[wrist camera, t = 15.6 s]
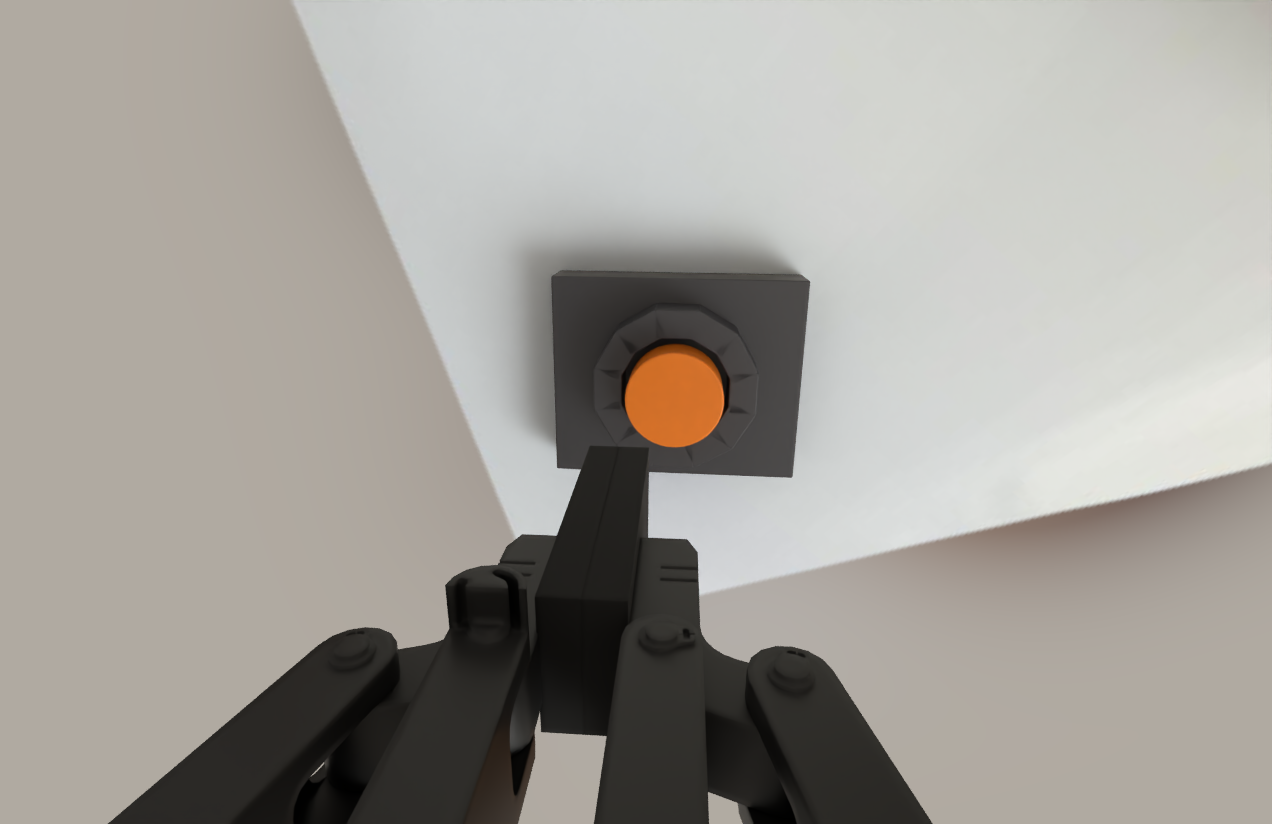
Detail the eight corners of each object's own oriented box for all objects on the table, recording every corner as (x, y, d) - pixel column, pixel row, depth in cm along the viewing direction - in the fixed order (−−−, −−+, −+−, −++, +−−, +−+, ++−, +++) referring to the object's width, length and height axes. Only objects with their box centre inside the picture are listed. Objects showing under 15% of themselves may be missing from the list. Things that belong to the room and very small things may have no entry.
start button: (628, 431, 29) (624, 446, 28) (628, 342, 28) (624, 351, 26) (720, 435, 29) (721, 449, 27) (724, 344, 28) (727, 354, 26)
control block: (565, 451, 34) (549, 484, 30) (560, 270, 31) (542, 281, 27) (786, 460, 33) (798, 494, 29) (802, 274, 30) (817, 286, 26)
